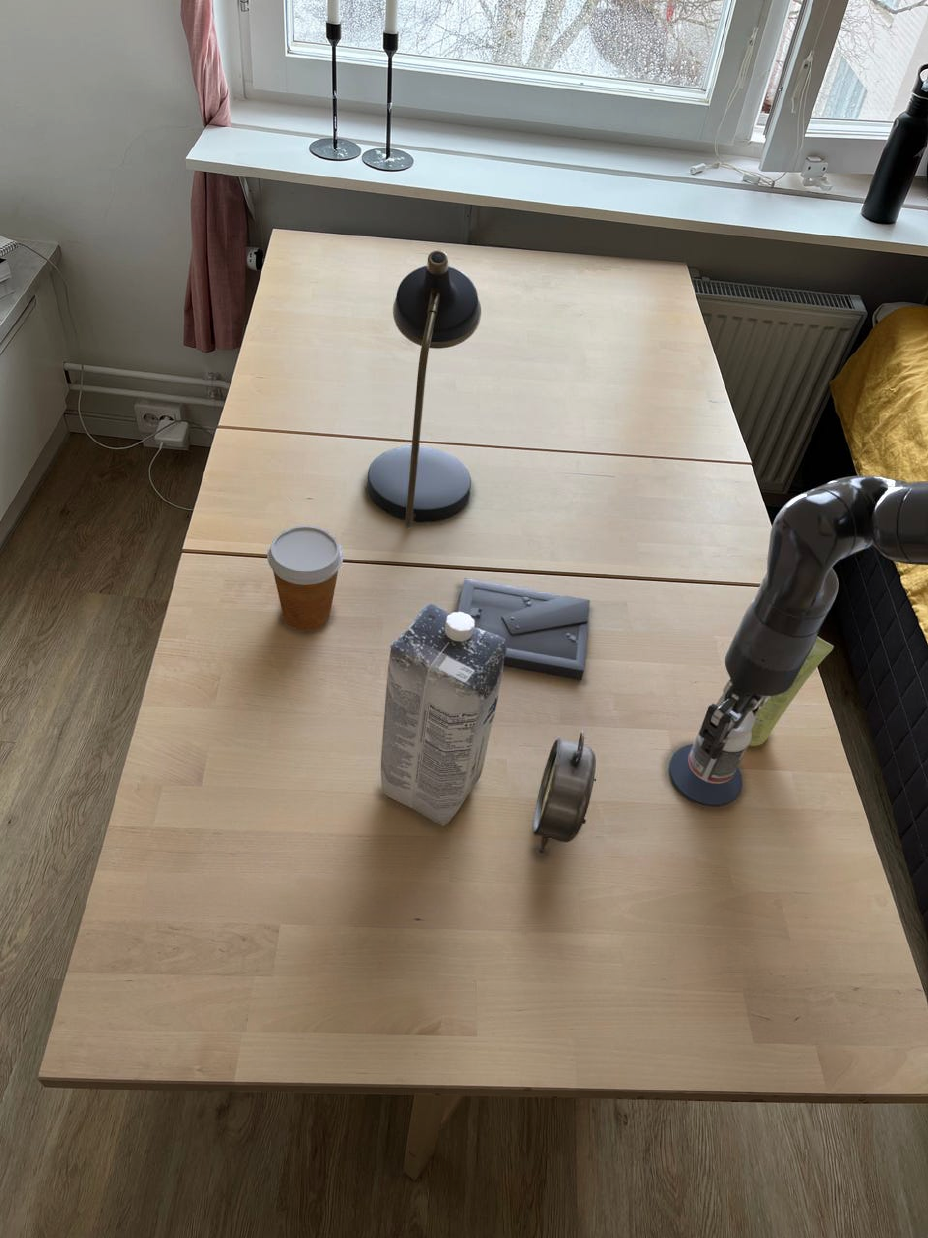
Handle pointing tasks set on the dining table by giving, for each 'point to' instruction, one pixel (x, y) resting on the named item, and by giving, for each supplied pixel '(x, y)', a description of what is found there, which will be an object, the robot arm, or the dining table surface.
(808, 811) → the dining table surface
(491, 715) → the juice carton
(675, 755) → the coaster
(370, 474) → the lamp
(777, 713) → the tube
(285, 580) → the disposable coffee cup
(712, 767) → the pill bottle
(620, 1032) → the dining table surface
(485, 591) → the picture frame
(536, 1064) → the dining table surface
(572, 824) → the alarm clock
